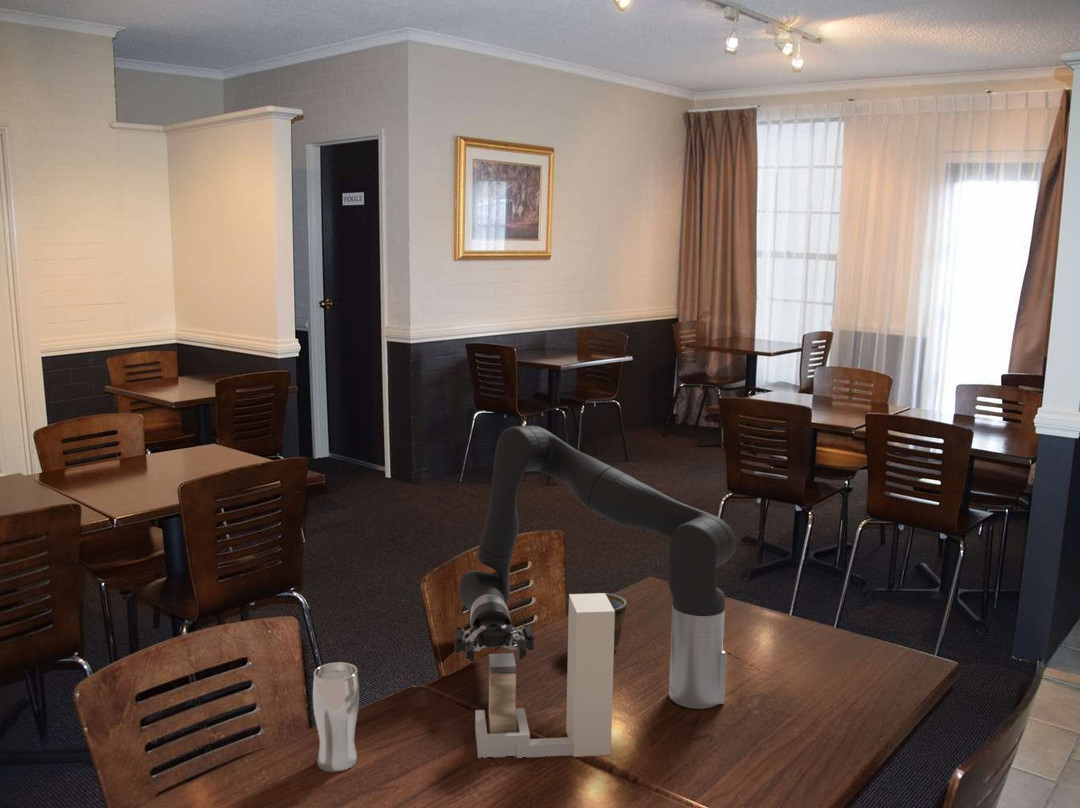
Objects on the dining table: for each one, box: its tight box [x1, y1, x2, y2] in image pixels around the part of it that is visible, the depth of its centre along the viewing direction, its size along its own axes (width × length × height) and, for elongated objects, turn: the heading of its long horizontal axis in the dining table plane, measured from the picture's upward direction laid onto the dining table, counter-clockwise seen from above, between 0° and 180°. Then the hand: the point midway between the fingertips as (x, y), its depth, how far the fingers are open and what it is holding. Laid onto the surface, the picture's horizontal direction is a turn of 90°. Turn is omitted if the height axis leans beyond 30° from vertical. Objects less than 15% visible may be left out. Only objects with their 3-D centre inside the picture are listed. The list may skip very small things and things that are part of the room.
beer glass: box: [312, 661, 360, 773], centre depth 144 cm, size 7×7×15 cm
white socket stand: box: [474, 592, 615, 759], centre depth 150 cm, size 21×10×24 cm, turn 97°
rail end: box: [488, 652, 517, 734], centre depth 151 cm, size 4×5×14 cm
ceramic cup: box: [590, 592, 627, 652], centre depth 187 cm, size 13×10×10 cm
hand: (496, 655), depth 161 cm, fingers open, 8 cm apart
